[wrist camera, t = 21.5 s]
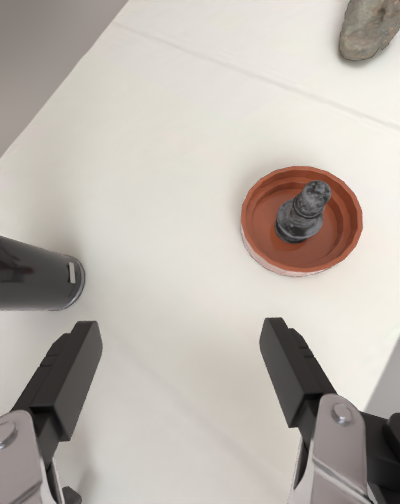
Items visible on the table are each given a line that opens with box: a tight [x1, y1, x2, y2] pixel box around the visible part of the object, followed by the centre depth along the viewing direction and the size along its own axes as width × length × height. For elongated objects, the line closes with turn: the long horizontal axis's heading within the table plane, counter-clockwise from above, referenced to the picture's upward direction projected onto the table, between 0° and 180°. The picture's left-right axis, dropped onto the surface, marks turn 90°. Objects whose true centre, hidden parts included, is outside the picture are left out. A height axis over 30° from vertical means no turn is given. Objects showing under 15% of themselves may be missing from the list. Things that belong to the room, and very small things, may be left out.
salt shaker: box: [275, 180, 331, 244], centre depth 27 cm, size 6×6×12 cm
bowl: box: [241, 166, 363, 277], centre depth 31 cm, size 15×15×4 cm
